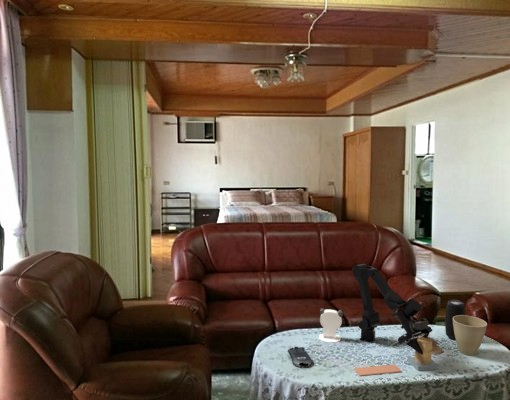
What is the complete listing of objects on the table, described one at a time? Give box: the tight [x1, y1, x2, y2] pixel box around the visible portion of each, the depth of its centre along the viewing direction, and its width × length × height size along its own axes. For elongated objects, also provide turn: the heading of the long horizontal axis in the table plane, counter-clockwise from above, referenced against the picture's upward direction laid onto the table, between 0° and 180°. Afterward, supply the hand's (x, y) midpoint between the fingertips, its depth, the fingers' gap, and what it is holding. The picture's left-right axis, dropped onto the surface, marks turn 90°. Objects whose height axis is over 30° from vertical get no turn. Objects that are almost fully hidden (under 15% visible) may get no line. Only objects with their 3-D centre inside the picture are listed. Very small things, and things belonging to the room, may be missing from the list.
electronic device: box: [287, 346, 313, 369], centre depth 195 cm, size 9×6×15 cm
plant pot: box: [453, 314, 488, 356], centre depth 202 cm, size 15×15×16 cm
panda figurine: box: [318, 307, 344, 343], centre depth 218 cm, size 12×11×15 cm
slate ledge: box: [407, 357, 439, 372], centre depth 190 cm, size 10×8×2 cm
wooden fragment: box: [417, 336, 445, 356], centre depth 213 cm, size 26×11×1 cm, turn 174°
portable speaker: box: [444, 299, 466, 341], centre depth 219 cm, size 9×9×20 cm
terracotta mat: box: [353, 364, 403, 377], centre depth 185 cm, size 20×6×1 cm, turn 101°
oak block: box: [414, 337, 433, 365], centre depth 189 cm, size 5×5×10 cm
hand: (426, 352), depth 188 cm, fingers closed on oak block, 5 cm apart
